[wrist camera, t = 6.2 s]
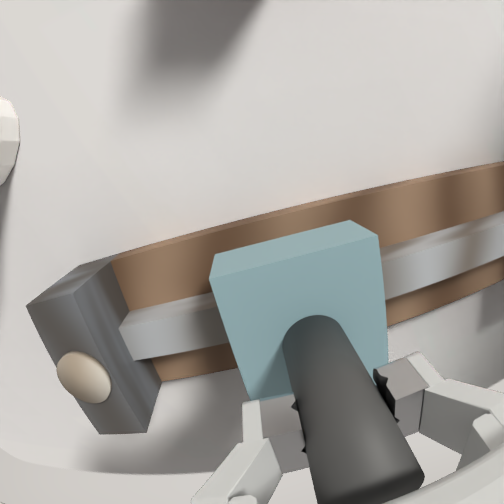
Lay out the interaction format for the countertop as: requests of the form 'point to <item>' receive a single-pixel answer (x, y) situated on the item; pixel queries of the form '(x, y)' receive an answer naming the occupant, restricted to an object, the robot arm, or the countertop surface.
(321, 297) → the carriage
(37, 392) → the countertop surface
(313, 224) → the rail
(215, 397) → the countertop surface
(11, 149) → the white cup
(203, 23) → the countertop surface
